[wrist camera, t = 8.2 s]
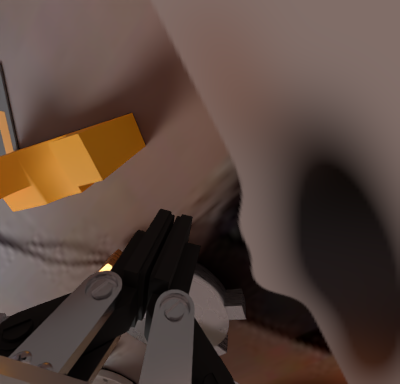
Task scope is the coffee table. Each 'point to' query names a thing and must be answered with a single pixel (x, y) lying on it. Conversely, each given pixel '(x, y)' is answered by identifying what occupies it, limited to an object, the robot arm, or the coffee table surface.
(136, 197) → the coffee table surface
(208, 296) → the sprocket
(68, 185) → the pipe clamp
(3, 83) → the mat
